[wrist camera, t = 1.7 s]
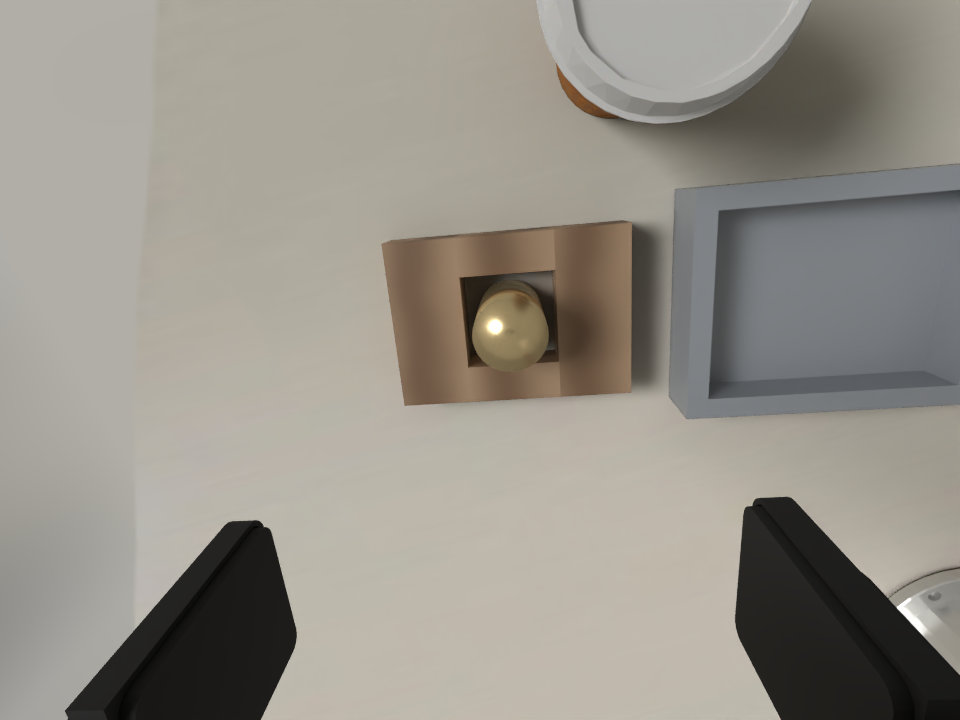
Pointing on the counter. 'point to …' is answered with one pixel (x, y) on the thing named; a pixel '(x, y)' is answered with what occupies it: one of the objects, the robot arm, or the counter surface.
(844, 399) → the slate tray
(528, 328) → the pin
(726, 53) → the disposable coffee cup
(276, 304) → the counter surface
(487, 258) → the block
